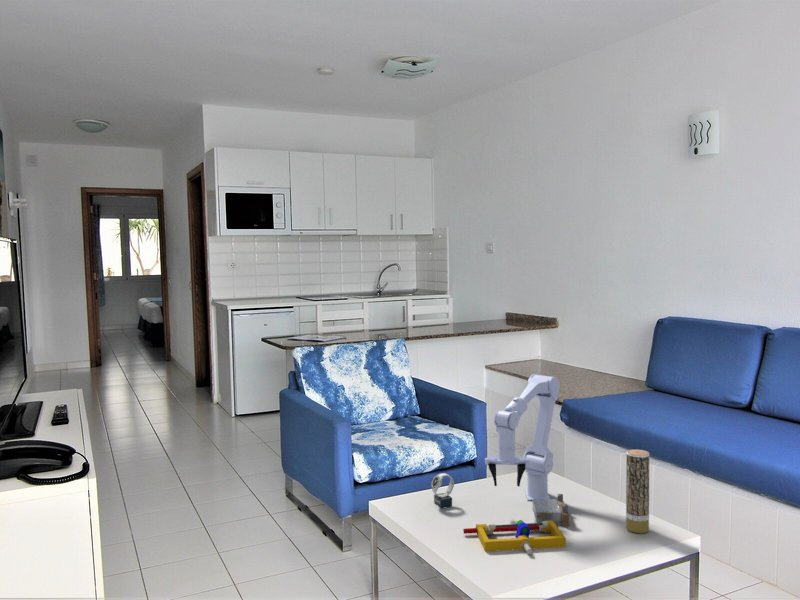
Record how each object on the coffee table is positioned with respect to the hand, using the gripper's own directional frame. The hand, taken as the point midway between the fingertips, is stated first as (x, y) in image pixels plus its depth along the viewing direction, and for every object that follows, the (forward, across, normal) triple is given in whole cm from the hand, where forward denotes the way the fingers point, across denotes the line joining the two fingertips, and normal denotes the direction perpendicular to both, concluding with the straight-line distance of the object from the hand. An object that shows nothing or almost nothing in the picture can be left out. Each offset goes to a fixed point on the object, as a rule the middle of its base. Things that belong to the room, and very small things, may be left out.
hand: (506, 485), depth 230 cm
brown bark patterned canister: (+10, +40, -13) cm, 43 cm away
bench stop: (+9, +18, -4) cm, 21 cm away
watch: (+10, -22, +6) cm, 25 cm away
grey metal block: (+10, +13, -3) cm, 16 cm away
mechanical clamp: (+10, +1, -24) cm, 26 cm away
